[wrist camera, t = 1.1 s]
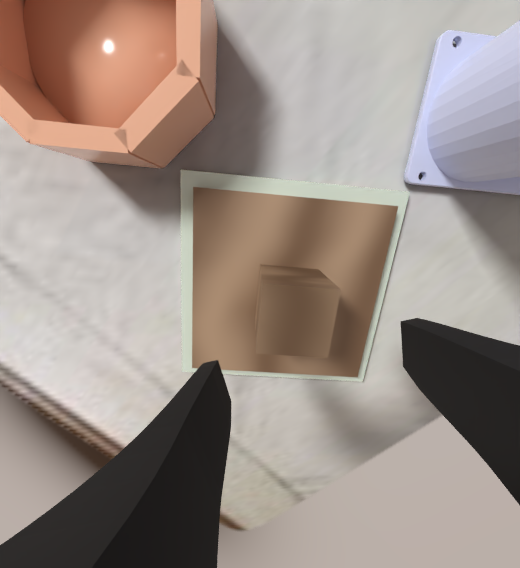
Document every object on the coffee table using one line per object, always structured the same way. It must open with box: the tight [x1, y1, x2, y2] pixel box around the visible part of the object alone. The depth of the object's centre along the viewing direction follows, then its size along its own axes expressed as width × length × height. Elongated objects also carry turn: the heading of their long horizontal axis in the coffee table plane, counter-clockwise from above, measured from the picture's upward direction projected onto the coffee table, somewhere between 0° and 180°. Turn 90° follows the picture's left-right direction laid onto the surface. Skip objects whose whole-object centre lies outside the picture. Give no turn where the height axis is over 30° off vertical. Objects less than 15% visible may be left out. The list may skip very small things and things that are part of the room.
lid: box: [192, 187, 398, 377], centre depth 15 cm, size 13×13×5 cm
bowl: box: [0, 0, 218, 169], centre depth 12 cm, size 11×11×4 cm
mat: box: [180, 169, 410, 382], centre depth 18 cm, size 15×15×1 cm
